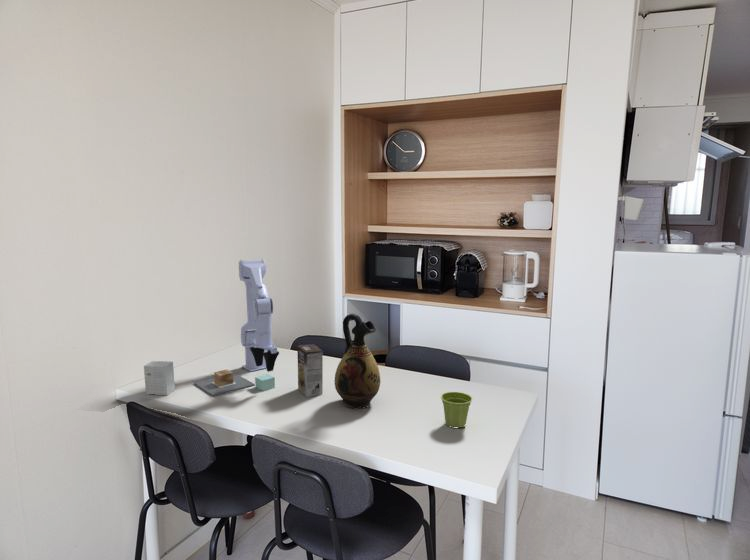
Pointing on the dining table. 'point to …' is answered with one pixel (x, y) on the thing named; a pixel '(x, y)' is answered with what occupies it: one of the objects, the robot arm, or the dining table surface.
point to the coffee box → (310, 370)
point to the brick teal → (265, 382)
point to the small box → (159, 377)
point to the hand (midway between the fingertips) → (264, 368)
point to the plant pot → (456, 408)
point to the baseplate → (216, 390)
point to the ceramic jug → (357, 366)
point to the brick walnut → (223, 377)
